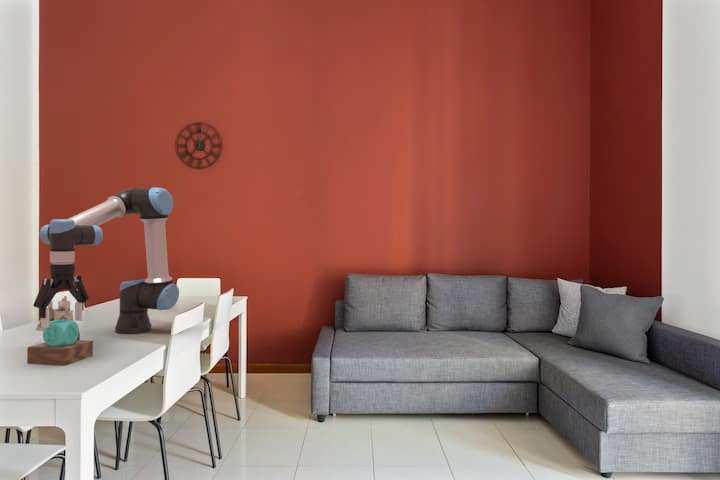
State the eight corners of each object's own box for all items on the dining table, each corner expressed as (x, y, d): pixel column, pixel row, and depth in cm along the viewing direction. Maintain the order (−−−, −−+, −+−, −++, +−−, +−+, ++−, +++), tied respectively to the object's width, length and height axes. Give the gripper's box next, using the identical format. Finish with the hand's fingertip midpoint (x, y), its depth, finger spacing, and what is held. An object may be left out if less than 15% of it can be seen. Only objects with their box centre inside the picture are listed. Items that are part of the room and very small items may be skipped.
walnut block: (57, 355, 187) (58, 338, 187) (92, 357, 185) (92, 341, 185) (27, 364, 173) (27, 347, 173) (64, 367, 171) (64, 349, 171)
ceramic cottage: (39, 326, 238) (41, 294, 237) (79, 326, 243) (80, 295, 242) (29, 334, 223) (31, 301, 222) (72, 334, 228) (73, 301, 227)
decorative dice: (79, 342, 182) (79, 319, 182) (64, 347, 174) (64, 323, 174) (58, 341, 183) (58, 319, 183) (42, 346, 175) (42, 323, 175)
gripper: (83, 260, 191) (83, 317, 192) (20, 265, 168) (20, 329, 168) (99, 261, 189) (99, 318, 190) (37, 266, 165) (38, 331, 166)
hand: (62, 323), depth 179 cm, fingers open, 13 cm apart
